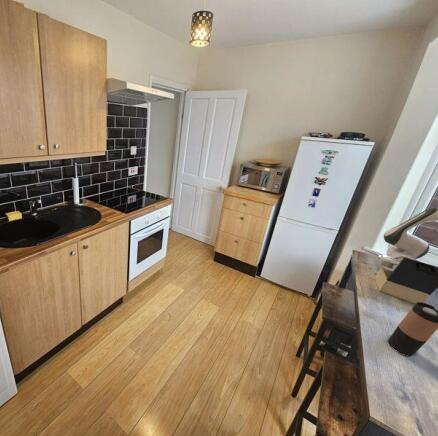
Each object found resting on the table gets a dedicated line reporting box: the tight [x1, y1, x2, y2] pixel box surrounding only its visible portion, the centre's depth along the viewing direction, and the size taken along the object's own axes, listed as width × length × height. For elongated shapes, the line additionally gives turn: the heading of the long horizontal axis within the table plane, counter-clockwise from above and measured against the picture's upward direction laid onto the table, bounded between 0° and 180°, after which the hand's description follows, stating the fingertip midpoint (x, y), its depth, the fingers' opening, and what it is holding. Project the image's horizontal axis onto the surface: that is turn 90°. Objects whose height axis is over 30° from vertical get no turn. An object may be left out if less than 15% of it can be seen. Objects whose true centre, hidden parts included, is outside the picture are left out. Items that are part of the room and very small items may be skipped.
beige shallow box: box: [374, 267, 430, 305], centre depth 120 cm, size 15×16×7 cm
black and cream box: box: [387, 257, 438, 296], centre depth 107 cm, size 15×16×5 cm
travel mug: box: [387, 302, 438, 357], centre depth 85 cm, size 8×8×20 cm
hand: (408, 274), depth 116 cm, fingers closed on hair color box, 5 cm apart
